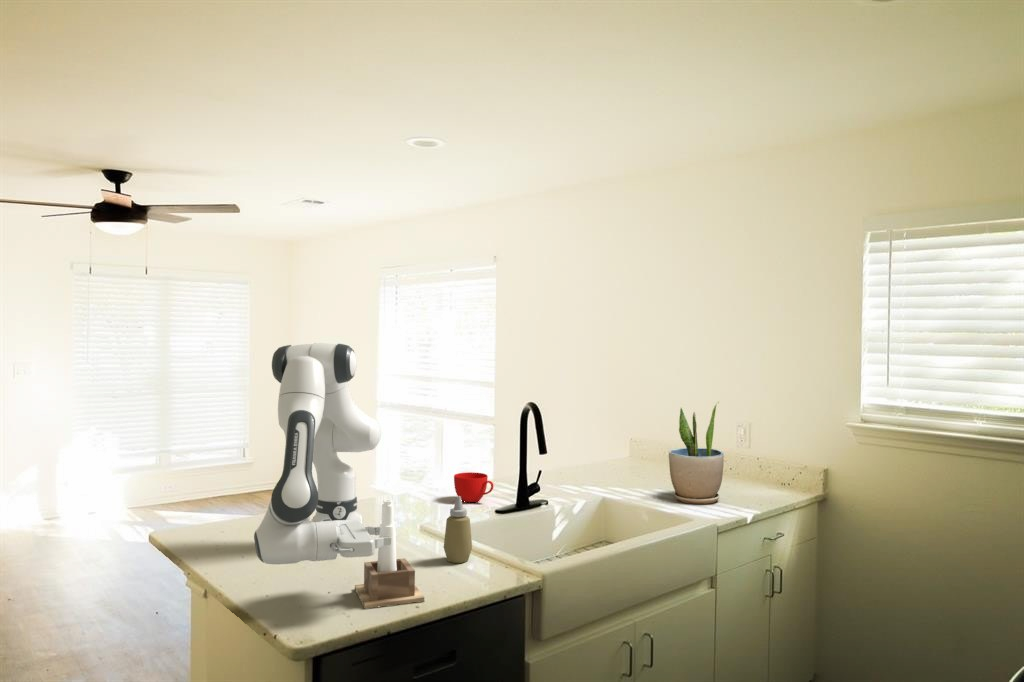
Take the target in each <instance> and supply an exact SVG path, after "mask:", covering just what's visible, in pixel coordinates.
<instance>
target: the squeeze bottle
mask: <svg viewBox="0 0 1024 682" xmlns="http://www.w3.org/2000/svg"><path fill="white" fill-rule="evenodd" d="M455 497H456V498H455V501H454V505H453V507H452V508H451V509H449V516H448V517H447V518H446V525H445V531H444V541H443V551H444V553H445V557H446V559H447V561H448V562H449V563H452V564H453V563H454V564H460V563H461V564H462V563H466V562H468V560H469V559H470V555H471V553H472V549H473V540H472V529H471V528H472V527H471V519H470V517H469V516H467V514H468V511H467V510H468V509H466V508H464V506H463V502H462V501H461V496H458V495H456V496H455Z"/></svg>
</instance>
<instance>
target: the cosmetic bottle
mask: <svg viewBox="0 0 1024 682" xmlns="http://www.w3.org/2000/svg"><path fill="white" fill-rule="evenodd" d="M382 503H383V504H382V505H381V523H380V525H379V526H380V532H379V535H378V538H383V537H384V536H389V537H390V538H391V545H386V546H382V547H379V548H377V551H378V552H377V561H378V565H377V573H379V572H388V571H397V564H396V559H397V542H396V541H397V540H396V539H397V538H396V537H397V536H396V524H395V523H394V506H395V505H394V504H393V499H384V500H383V501H382Z"/></svg>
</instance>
